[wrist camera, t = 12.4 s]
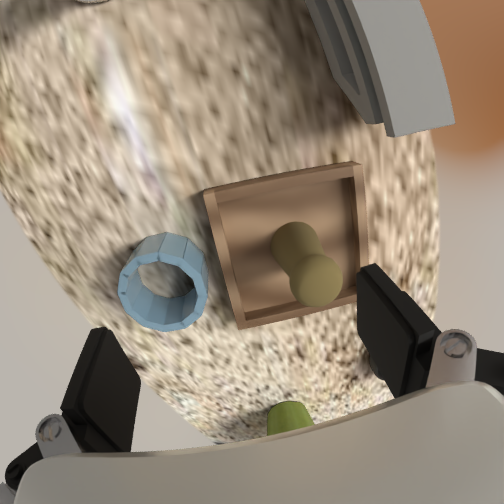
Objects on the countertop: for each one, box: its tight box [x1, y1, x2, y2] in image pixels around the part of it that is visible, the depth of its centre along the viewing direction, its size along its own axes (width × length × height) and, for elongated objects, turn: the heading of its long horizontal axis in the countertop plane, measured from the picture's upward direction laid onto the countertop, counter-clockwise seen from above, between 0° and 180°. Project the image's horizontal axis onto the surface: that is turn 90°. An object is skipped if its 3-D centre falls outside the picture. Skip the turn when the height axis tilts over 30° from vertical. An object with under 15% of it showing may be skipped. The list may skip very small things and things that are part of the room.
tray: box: [203, 161, 369, 330], centre depth 38 cm, size 18×18×3 cm
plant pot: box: [267, 401, 315, 436], centre depth 47 cm, size 12×12×11 cm
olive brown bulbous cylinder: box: [270, 221, 343, 307], centre depth 33 cm, size 6×6×11 cm
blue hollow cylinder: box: [117, 232, 209, 332], centre depth 36 cm, size 10×10×6 cm
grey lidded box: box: [304, 0, 455, 137], centre depth 24 cm, size 25×8×11 cm, turn 18°
